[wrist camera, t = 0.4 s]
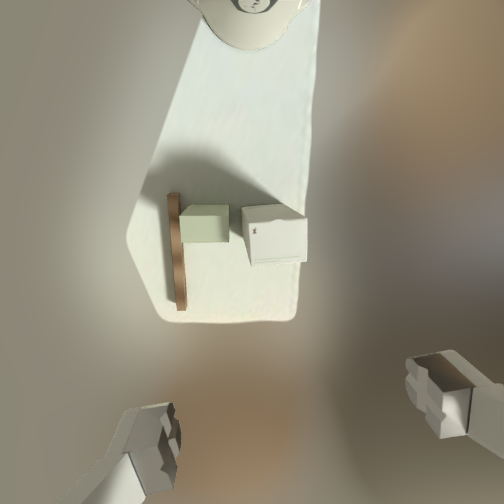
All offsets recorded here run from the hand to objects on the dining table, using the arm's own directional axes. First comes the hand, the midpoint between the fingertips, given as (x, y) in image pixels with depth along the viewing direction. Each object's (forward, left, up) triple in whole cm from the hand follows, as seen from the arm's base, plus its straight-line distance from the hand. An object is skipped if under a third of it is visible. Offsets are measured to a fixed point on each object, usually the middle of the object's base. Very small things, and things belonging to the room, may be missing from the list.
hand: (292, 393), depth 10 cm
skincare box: (+3, +4, -44) cm, 44 cm away
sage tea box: (+2, -6, -44) cm, 44 cm away
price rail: (+9, -12, -44) cm, 46 cm away
